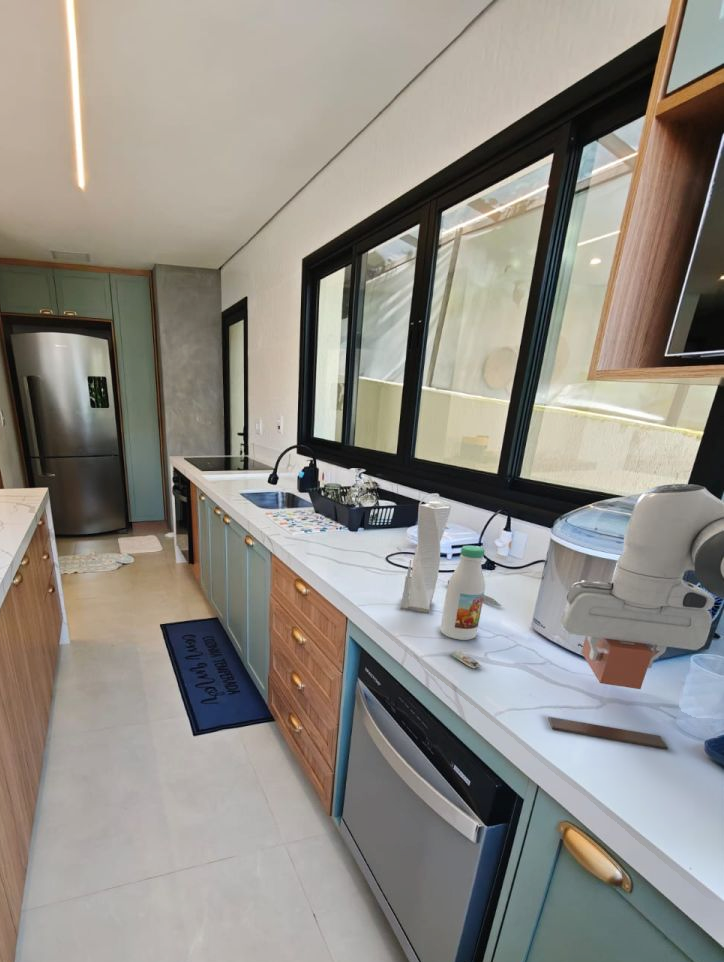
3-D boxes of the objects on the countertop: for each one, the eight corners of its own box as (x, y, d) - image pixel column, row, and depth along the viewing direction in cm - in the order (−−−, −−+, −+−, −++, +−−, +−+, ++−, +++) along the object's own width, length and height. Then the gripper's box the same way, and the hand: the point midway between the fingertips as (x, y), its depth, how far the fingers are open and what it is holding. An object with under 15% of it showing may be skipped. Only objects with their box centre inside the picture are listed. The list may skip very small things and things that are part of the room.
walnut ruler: (659, 737, 79) (660, 735, 79) (667, 749, 77) (668, 747, 76) (548, 718, 83) (548, 716, 83) (552, 728, 81) (552, 726, 81)
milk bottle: (438, 636, 111) (452, 549, 104) (441, 623, 118) (455, 541, 111) (475, 643, 109) (492, 554, 101) (476, 629, 115) (492, 545, 108)
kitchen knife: (446, 586, 143) (447, 579, 142) (449, 585, 143) (450, 579, 142) (499, 609, 128) (501, 601, 127) (502, 608, 128) (503, 601, 127)
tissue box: (616, 657, 94) (627, 622, 92) (640, 689, 83) (653, 651, 81) (581, 652, 96) (590, 617, 93) (599, 683, 85) (611, 645, 82)
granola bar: (448, 655, 103) (449, 650, 103) (456, 653, 104) (457, 648, 104) (473, 670, 98) (473, 665, 97) (481, 668, 98) (482, 663, 98)
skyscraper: (403, 597, 133) (418, 491, 123) (435, 602, 131) (453, 494, 120) (400, 609, 126) (415, 496, 115) (433, 614, 123) (452, 500, 113)
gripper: (576, 585, 80) (556, 661, 86) (728, 601, 75) (697, 681, 80) (567, 573, 86) (548, 645, 91) (707, 587, 81) (679, 663, 86)
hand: (619, 662), depth 86 cm, fingers closed on tissue box, 6 cm apart
